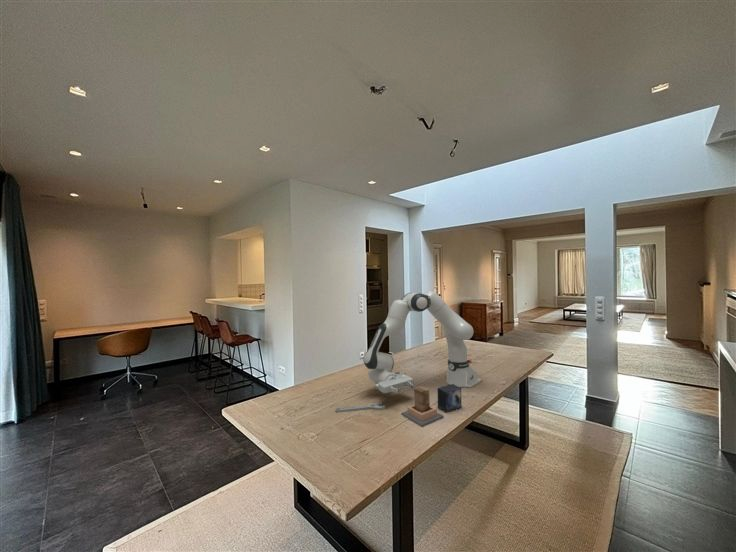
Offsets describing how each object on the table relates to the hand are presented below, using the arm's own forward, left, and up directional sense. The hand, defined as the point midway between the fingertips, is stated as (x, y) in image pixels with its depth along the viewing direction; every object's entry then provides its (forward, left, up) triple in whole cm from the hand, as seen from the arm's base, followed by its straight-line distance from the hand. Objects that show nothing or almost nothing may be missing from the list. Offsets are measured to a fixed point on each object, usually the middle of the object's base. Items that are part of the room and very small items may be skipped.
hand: (405, 388), depth 148 cm
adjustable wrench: (+19, -13, -10) cm, 25 cm away
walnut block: (0, +12, -8) cm, 14 cm away
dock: (0, +12, -9) cm, 15 cm away
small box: (-17, +14, -10) cm, 24 cm away
